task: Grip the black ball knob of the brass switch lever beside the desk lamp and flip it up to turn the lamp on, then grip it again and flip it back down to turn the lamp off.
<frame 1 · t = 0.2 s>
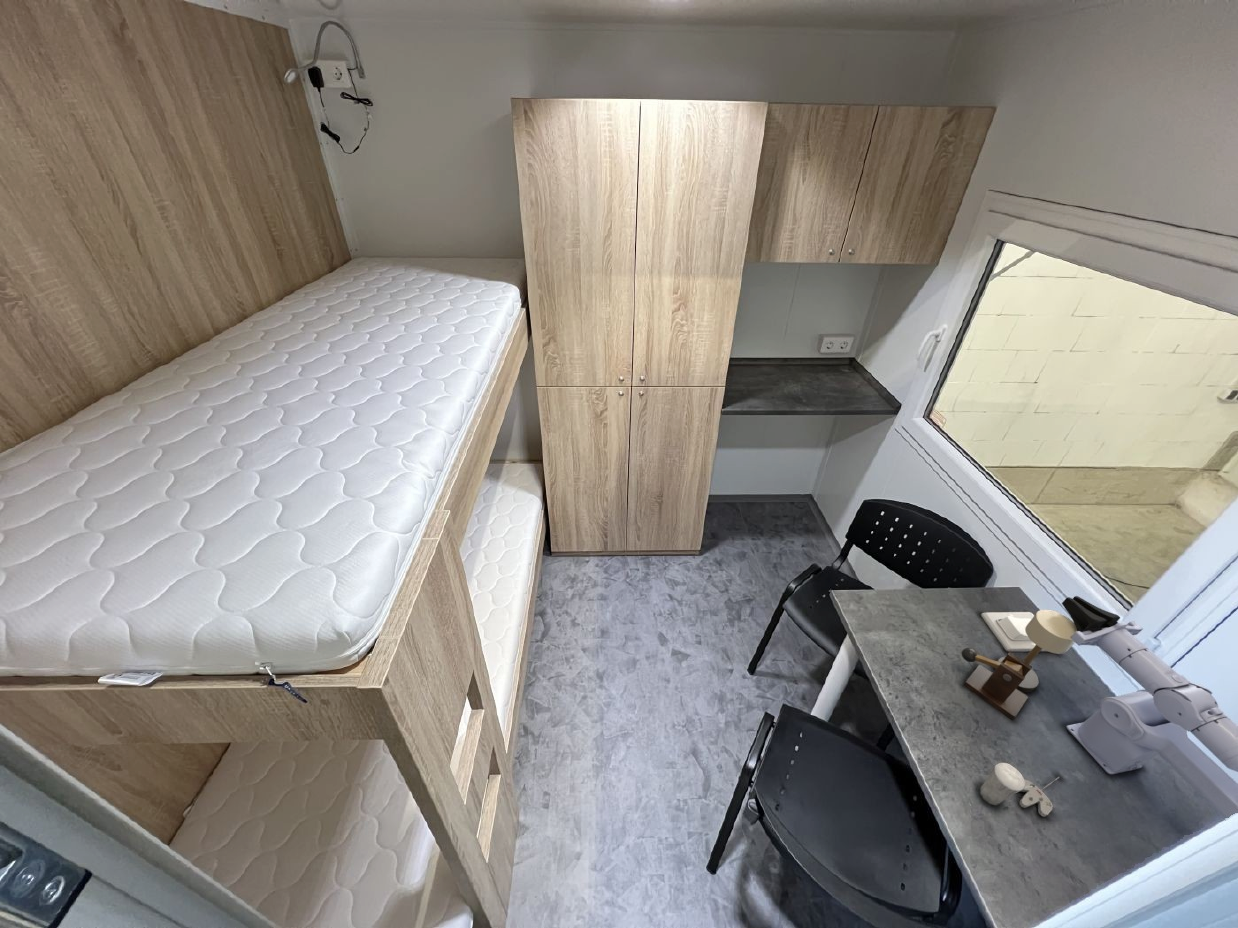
hand: (1068, 599, 104), 22 cm above the table, tool horizontal, fingers closed
lamp switch: (990, 662, 108), point 7 cm above the table, hinge at -24.0°
light switch: (1018, 633, 123), on the table
switch bracket: (994, 692, 110), on the table
desk lamp: (1014, 675, 113), on the table
game controller: (1040, 793, 93), on the table
milkshake: (991, 797, 92), on the table
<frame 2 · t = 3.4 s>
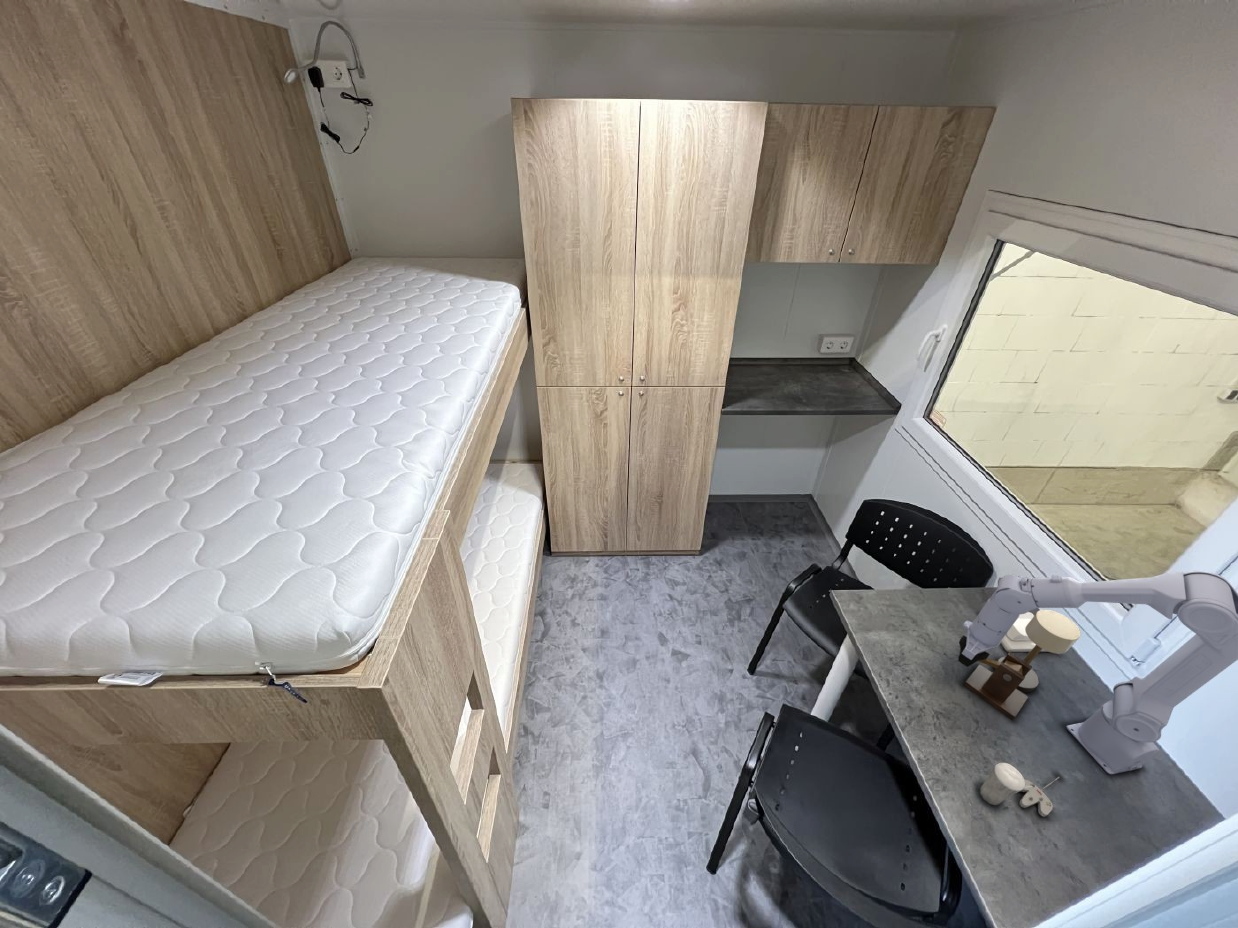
hand: (966, 658, 112), 4 cm above the table, tool pointing down, fingers closed on lamp switch, 3 cm apart
lamp switch: (990, 662, 108), point 7 cm above the table, hinge at -24.0°, touching gripper
everything else where it was.
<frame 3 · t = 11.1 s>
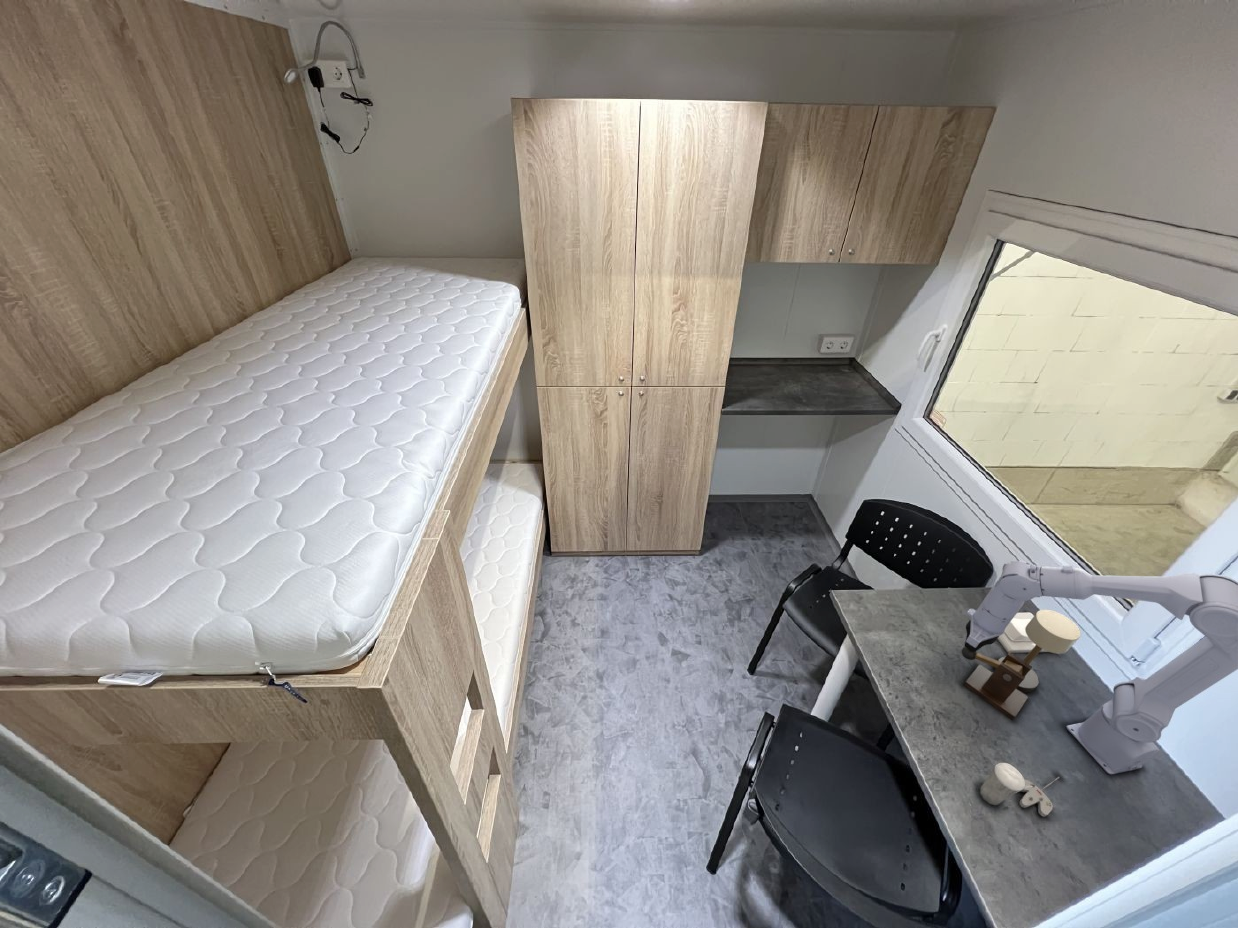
hand: (970, 647, 111), 7 cm above the table, tool pointing down, fingers closed, pressing on lamp switch
lamp switch: (990, 661, 108), point 7 cm above the table, hinge at -20.2°, touching gripper
everything else where it was.
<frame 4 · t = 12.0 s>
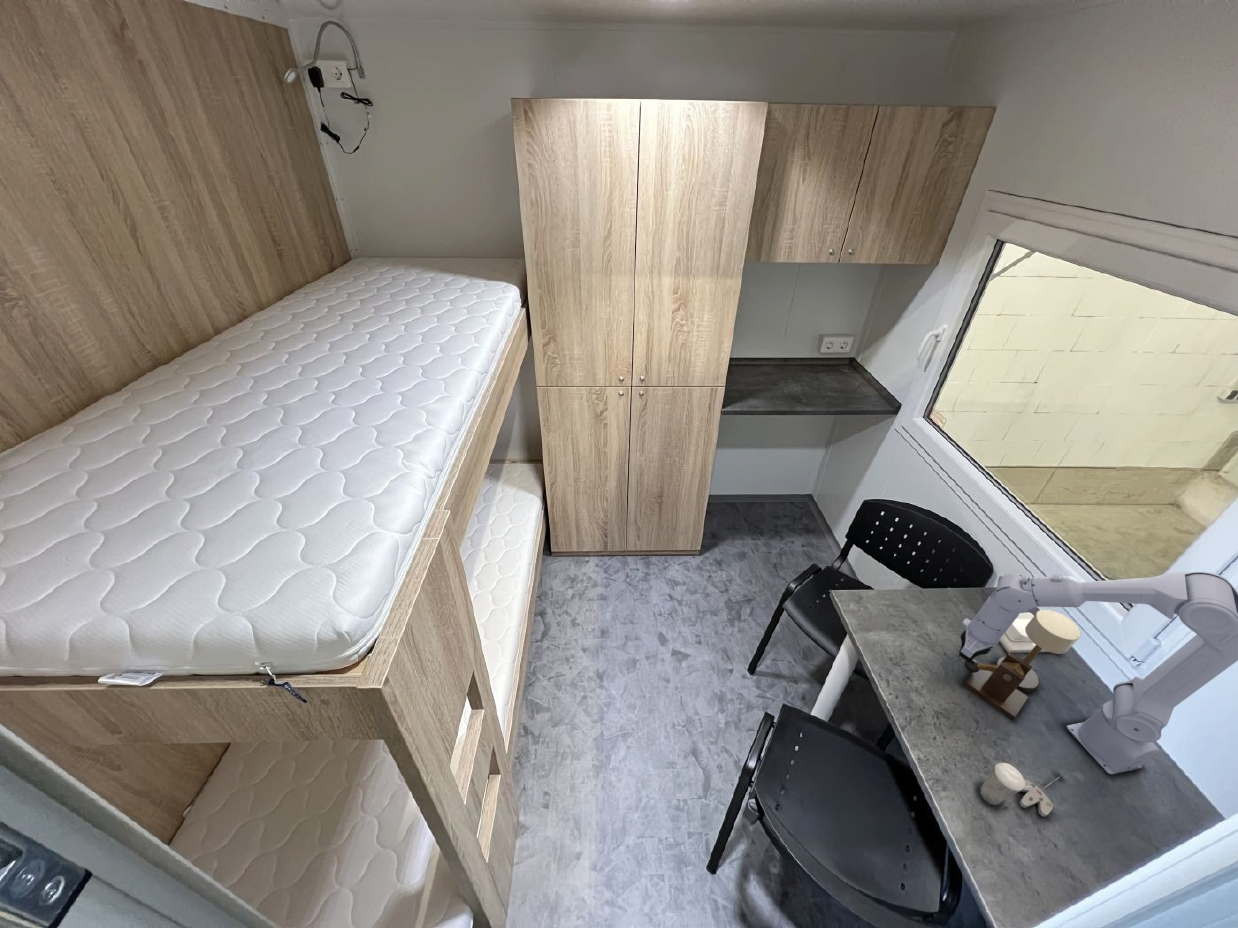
hand: (964, 656, 113), 4 cm above the table, tool pointing down, fingers closed, pressing on lamp switch
lamp switch: (991, 667, 108), point 6 cm above the table, hinge at -43.6°, touching gripper
everything else where it was.
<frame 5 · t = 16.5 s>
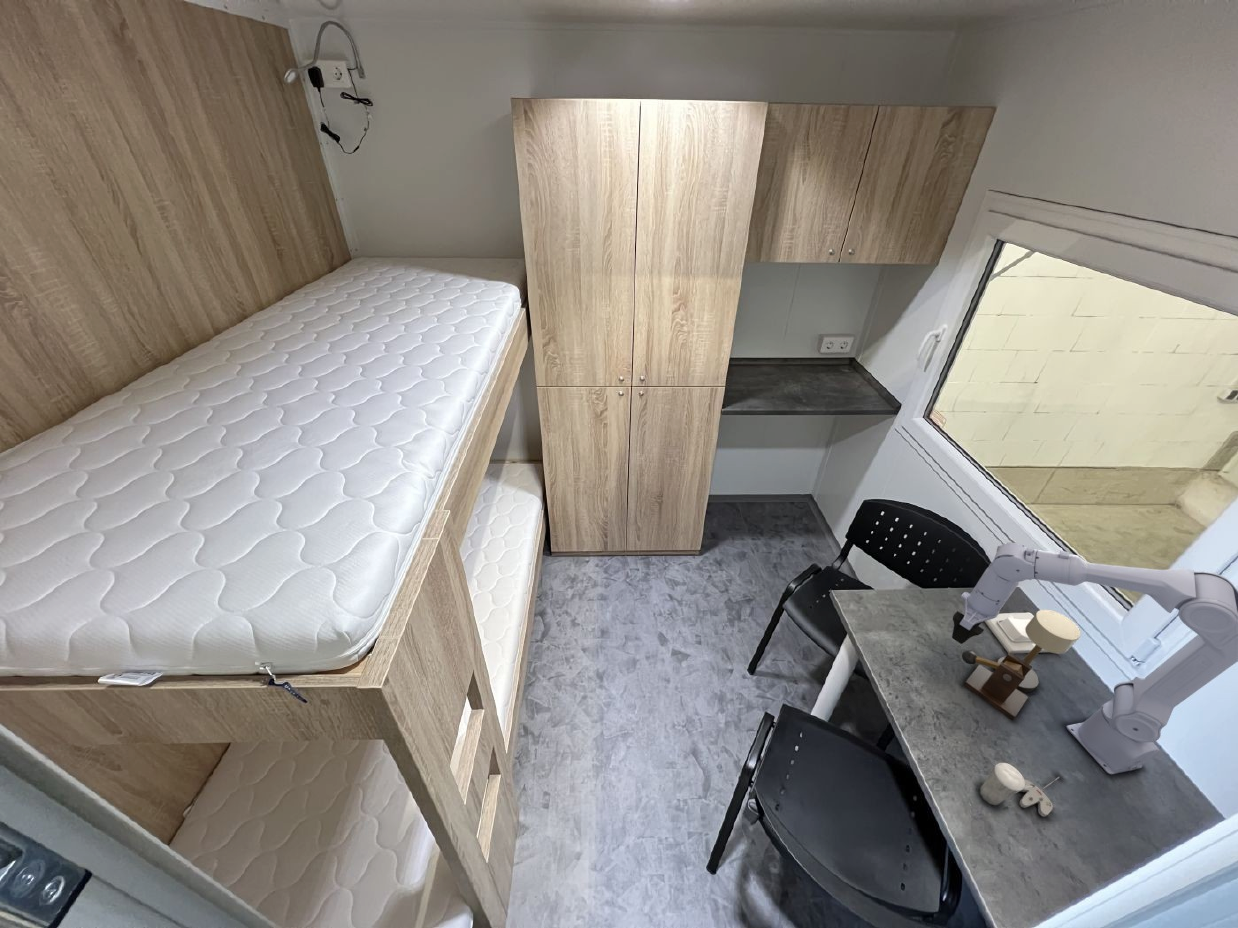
hand: (964, 631, 111), 10 cm above the table, tool pointing down, fingers open, 7 cm apart
lamp switch: (990, 663, 108), point 7 cm above the table, hinge at -28.6°
everything else where it was.
at the end: lamp switch reached +16° during the clip, -29° at the end; lamp switch at -29° (first picture: -24°); the gripper is holding nothing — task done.
